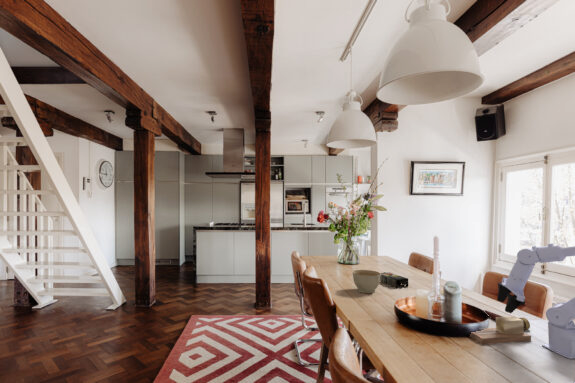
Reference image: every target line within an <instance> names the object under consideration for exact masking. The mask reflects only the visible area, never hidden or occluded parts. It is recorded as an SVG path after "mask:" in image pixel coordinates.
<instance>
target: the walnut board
mask: <svg viewBox="0 0 575 383" xmlns="http://www.w3.org/2000/svg"><path fill="white" fill-rule="evenodd" d="M483 329H484V330H481V331H476V332H471V334H470V336H469V338H472V339H473V340H475V341H477V343H480V344H482V345H487V344H488V345H491V344H506V343H507V344H508V343H520V342H521V343H522V342H532V335H530V334H528V333H526V332H524V334H507V335H505V334H503V333H501V332H499V331H497V330H496V327H489V328H488V327H487V328H483Z"/></svg>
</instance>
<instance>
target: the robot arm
mask: <svg viewBox="0 0 575 383" xmlns="http://www.w3.org/2000/svg"><path fill="white" fill-rule="evenodd" d="M516 257H517V259H516V261H515V263H513V266H512V268H511V270H510V271H509V275H508V276H507V277H505V276H503V277H502V279H501V282H500V281H498V282H497V287H498V291H497V292H498V293H497V300H496V301H498V302H500V303H504V302H505V301H506V300H507V301H506V305H505V309H504V311H505V313H509V314H513V313H514V311H515V310H517V309H518V308H519V307H521V306H522V305H525V304H526V296H525V294H524V289H525V286H526V284H527V282H528V280H529V279H530V277H531V275H532V273H533V269H534V267H535V266H536V264H537V263H540V264H544V263H553V262H563V261H564V260H566V258H567V257H575V245H573V246H566V247H563V246H561V245H559V244H554V243H548V244H547V245H545V246H544V245H543V246H542V245H541V246H536V245H533V246H531V247H526V248H522V249H521V250H519V251H518V252H517V253H516ZM511 293H512V294H513V295H512V294H511ZM545 317H546V319H547V329H548V330H547V331H548V332H547V333H548V334H547V335H548V343H545V344H543V343H542V344H541V346H542V347H544V348H545V349H548V350H550V351H551V352H554V353H555V354H559V355H560V356H563V357H564V358H566V359H575V323H574V320H575V297H572V298H571V299H569V300H567V301H565V302H557V303H556V304H554V305H553V306H551V307H549V308H547V309H546V311H545Z"/></svg>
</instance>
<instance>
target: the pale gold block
mask: <svg viewBox="0 0 575 383" xmlns="http://www.w3.org/2000/svg"><path fill="white" fill-rule="evenodd" d="M519 318H520V317H517V316H515V315H512V316H510V315H509V316H503V317H496V320H495V328H496V330H497V331H499V332H501V333H503V334H505V335H507V334H524V333H525V331H524V325H523V320H522V319H519Z"/></svg>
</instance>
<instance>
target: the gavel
mask: <svg viewBox="0 0 575 383" xmlns="http://www.w3.org/2000/svg"><path fill="white" fill-rule="evenodd" d="M483 311H485V312H486V313H487V314H488V315H489V317H488V318H489V319H492V320H495V321H496V317H504V315H503V316H502V315H499V314H497V313H494V312H492V311H489V310H487V309H486V310H485V309H484V310H483ZM518 318H519V319H522V320H523V325H524V330H526V329H527V330H529V329H530V328H531V324H530V321H529V320H528V319H527V318H525V317H518Z"/></svg>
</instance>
